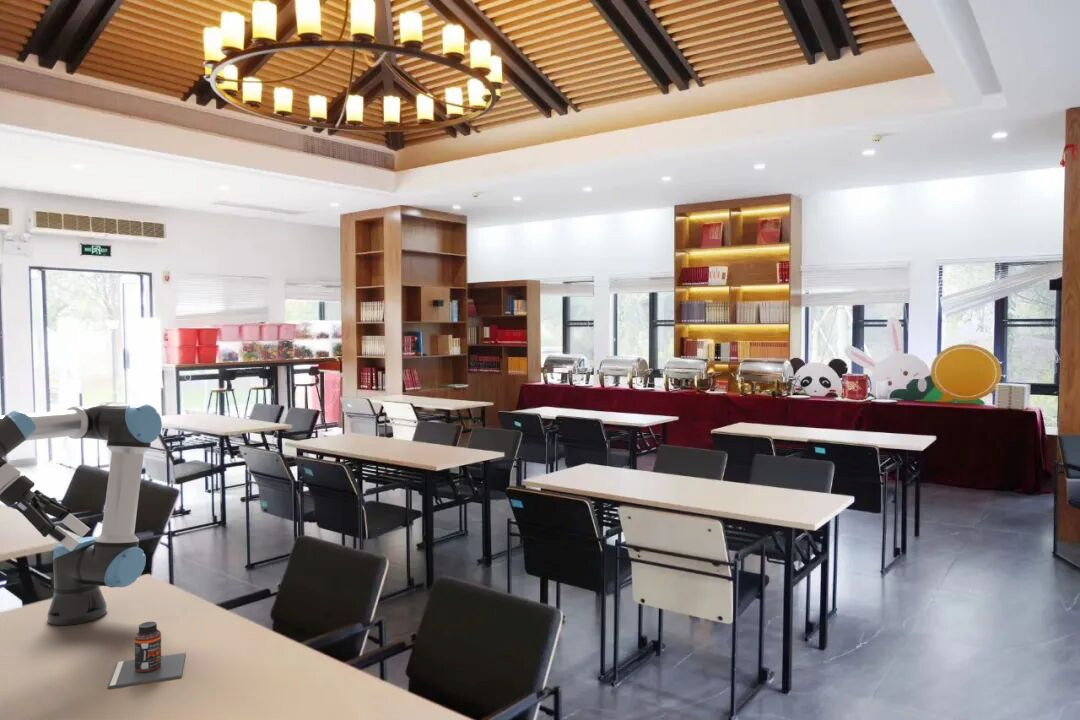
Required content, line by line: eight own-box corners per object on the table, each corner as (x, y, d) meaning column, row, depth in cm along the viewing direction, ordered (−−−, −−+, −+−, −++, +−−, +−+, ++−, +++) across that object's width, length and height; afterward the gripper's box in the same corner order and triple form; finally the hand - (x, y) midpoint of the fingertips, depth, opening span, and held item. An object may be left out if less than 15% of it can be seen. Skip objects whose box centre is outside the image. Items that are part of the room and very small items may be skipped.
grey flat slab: (116, 664, 192) (116, 662, 192) (185, 654, 198) (185, 652, 198) (107, 688, 179) (107, 685, 179) (181, 677, 185) (181, 674, 185)
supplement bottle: (150, 674, 185) (149, 629, 185) (129, 672, 186) (128, 627, 186) (166, 664, 191) (166, 620, 191) (146, 662, 192) (145, 618, 192)
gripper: (11, 487, 194) (79, 538, 200) (-20, 508, 171) (58, 565, 177) (34, 465, 196) (101, 517, 202) (7, 483, 173) (83, 541, 179)
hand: (81, 539), depth 190 cm, fingers open, 13 cm apart
